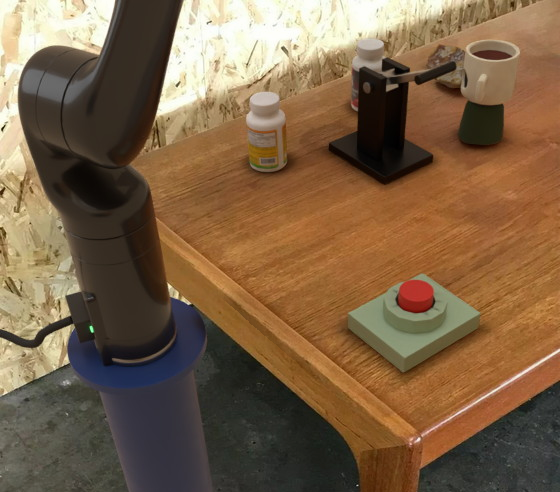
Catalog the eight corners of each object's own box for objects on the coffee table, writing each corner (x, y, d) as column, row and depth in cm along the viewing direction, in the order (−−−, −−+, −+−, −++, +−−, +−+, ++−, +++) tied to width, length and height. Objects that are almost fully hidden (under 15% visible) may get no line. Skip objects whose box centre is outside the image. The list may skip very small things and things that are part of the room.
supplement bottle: (269, 149, 115) (266, 84, 108) (295, 162, 112) (293, 97, 105) (241, 163, 112) (236, 98, 106) (267, 177, 110) (263, 111, 103)
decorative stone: (463, 72, 118) (408, 48, 129) (462, 101, 121) (408, 75, 132) (515, 57, 121) (457, 35, 132) (513, 86, 124) (456, 61, 135)
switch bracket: (432, 162, 111) (442, 73, 102) (384, 184, 107) (389, 94, 98) (375, 129, 118) (379, 43, 109) (328, 150, 114) (328, 62, 105)
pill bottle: (344, 102, 124) (345, 40, 117) (375, 95, 125) (378, 33, 118) (360, 117, 120) (362, 54, 113) (391, 110, 122) (395, 46, 115)
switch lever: (458, 75, 97) (454, 55, 96) (423, 90, 95) (418, 69, 94) (396, 84, 107) (391, 66, 106) (362, 98, 105) (357, 79, 104)
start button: (414, 318, 82) (415, 306, 81) (391, 301, 85) (391, 288, 83) (439, 304, 84) (441, 291, 83) (415, 287, 86) (417, 275, 85)
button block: (403, 373, 82) (406, 345, 79) (347, 327, 87) (348, 300, 84) (478, 328, 86) (483, 300, 83) (420, 287, 92) (423, 259, 89)
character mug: (465, 117, 119) (476, 30, 110) (512, 125, 117) (528, 37, 108) (444, 153, 112) (455, 63, 103) (494, 162, 110) (510, 70, 101)
